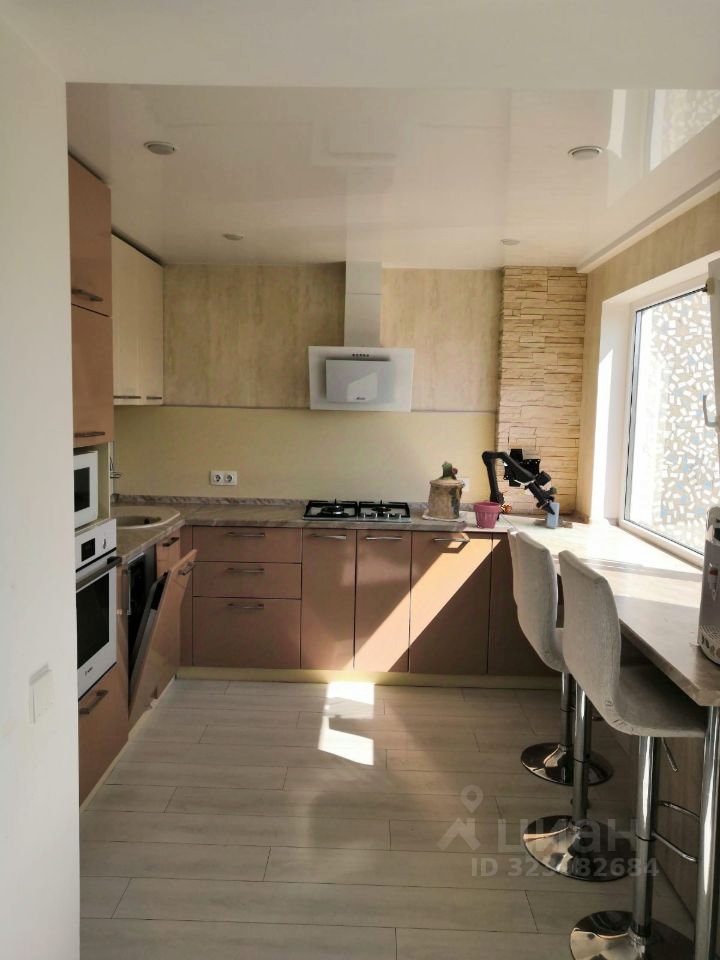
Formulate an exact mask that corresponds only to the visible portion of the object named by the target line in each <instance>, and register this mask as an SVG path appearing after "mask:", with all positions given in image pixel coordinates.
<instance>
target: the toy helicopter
mask: <svg viewBox="0 0 720 960" xmlns="http://www.w3.org/2000/svg"><path fill="white" fill-rule="evenodd" d="M504 491H505V490H504ZM501 492H502V491H500V493H501ZM508 492H509V491H508V490H507V491H505V492H502V493H503V494H505V493H508ZM482 502H490V500H488V499H485V500H484V501H482ZM504 503H505V501H504ZM504 503H503V504H504ZM501 507H503V508H505V513H506V514H511V513H512V512H511V510H512V511H513V507H512V506H511V505H510V506H509V505H507V506H506V505H504V506H501ZM500 513H504V512H503V509H502V508H500Z"/></svg>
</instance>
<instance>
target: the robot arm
mask: <svg viewBox="0 0 720 960" xmlns="http://www.w3.org/2000/svg"><path fill="white" fill-rule="evenodd" d="M497 459H500V460H501V461H503V463H504V464H506V466H507V467H509V468H510V469H511V470H512V471H513V472H514V474H515V475H516V477H517V478H518V480H519V481H520V483H522V484H525V485H524V488H523V490H524V491H527V490H528V491H529V492H530V493H531V494H532V496H533V498H534V499H536V500H537V503H536V504H535V507H536V508H537V509H538V510H539V509H540V510H543V511H545V512H547V513H548V512H549V513H550V514H552V515H555V512H554V511H553V509H552V507H551V506H550V502H555V500H556V497H555V495H556V494H558V490H557V488H556V487H554V486H551V487H549V490H546V489H545V488H544V489H543V488H542V487H545V486H546V485H547V484H548V483H550V482H551V481H552V477H551V475H550V474H549V473H547V472H545V470H541V471H540V472H539V473H538V474H537V475H534V474H533V473H531V472H530V471H529V470H528V469H525V468H524V467H522V466H520V464H518V463H517V462H516V460H514V459H513V458H512V457H511V456H510V455H509V454H508V452H506V451H494V450H485V451H483V452H482V454H481V460H482V463H483V464H484V466H485V468H486V473H487V474H486V475H487V479H488V483H489V489H490V492H489V494H490V495H489V501H490V502H493V503H498V504H500V505H501V506H502V505H503V503H504V497H503V495H504V493H500V492H501V491H500V488H499V483H498V478H497V477H498V476H497V472H496V460H497ZM500 513H501V512H499V513H498V517H497V520H499V521H500V516H501V515H500Z"/></svg>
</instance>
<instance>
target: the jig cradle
mask: <svg viewBox="0 0 720 960" xmlns="http://www.w3.org/2000/svg"><path fill="white" fill-rule="evenodd" d="M547 518H548V514H547V515H545V516H544V519H537V518H536V519H535V521H534V526H538V527H539V526H542V527H548V526H547ZM549 527H552V526H549ZM562 527H564V529H565V528H566V529H573V522H572V521H571V522H570V521H564V516H559V515H558V526H556V527H555V528H562Z"/></svg>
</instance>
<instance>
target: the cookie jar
mask: <svg viewBox="0 0 720 960" xmlns="http://www.w3.org/2000/svg"><path fill="white" fill-rule="evenodd" d="M441 468H442V475H441V476H439V477H438V478H436V479H431V480H429V485H430V487H429V495H428V499H427V500H428V501H427V507H428V508H427V509H425V510H424V511H423V514H422V515H421V517H422V520H423V519H424V520H430V521H431V520H435V521H440V522H450V521H453V520H456V521H465V522H466V521H467V515H468V513H467V512H460V509H461V499H462V496H463V487H464V484H463V482H462V481H461V480H459V479H458V478H457V476H456V475H458V471H459V470H458V468H457V467H454V466H453V463H450V462H448V461H446V460H445V461H444V462H443V464H442V465H441Z"/></svg>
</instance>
